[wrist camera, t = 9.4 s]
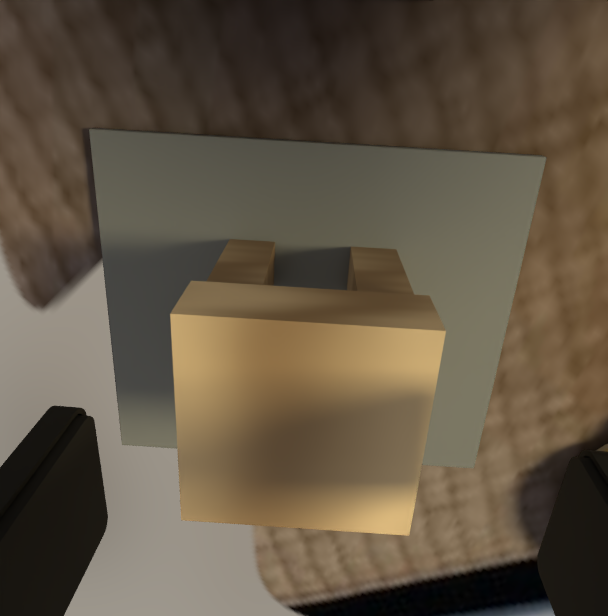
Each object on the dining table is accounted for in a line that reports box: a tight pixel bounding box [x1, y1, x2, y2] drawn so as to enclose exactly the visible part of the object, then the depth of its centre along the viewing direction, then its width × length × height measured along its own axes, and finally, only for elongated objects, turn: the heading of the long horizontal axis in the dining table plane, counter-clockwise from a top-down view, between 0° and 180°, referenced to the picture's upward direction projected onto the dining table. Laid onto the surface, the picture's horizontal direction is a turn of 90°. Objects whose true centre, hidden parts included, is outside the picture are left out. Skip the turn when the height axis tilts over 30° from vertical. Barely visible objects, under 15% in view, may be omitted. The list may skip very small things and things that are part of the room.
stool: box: [170, 239, 446, 535], centre depth 16 cm, size 6×6×6 cm
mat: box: [89, 128, 546, 468], centre depth 19 cm, size 14×12×1 cm
